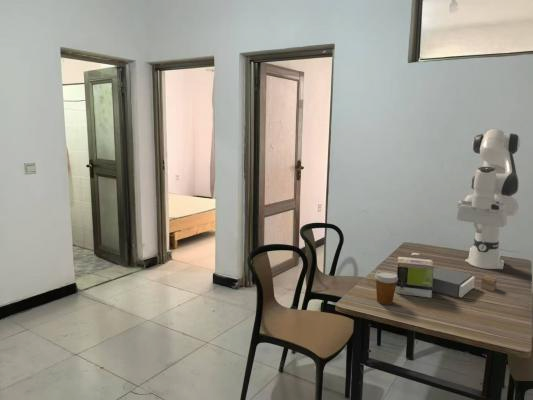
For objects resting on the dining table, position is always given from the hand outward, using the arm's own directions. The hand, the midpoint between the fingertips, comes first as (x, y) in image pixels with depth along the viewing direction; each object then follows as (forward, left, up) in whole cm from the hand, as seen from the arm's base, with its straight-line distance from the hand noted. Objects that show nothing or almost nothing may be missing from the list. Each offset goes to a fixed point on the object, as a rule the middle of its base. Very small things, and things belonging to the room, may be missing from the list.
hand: (479, 232), depth 183 cm
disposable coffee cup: (+45, -22, -27) cm, 57 cm away
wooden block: (-4, +5, -26) cm, 27 cm away
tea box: (+26, -18, -27) cm, 41 cm away
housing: (+9, -9, -26) cm, 29 cm away
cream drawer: (+9, -7, -26) cm, 28 cm away
